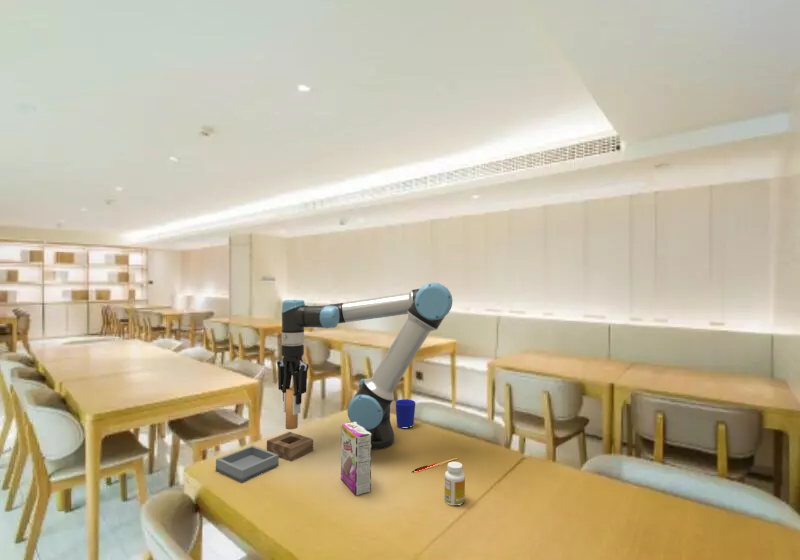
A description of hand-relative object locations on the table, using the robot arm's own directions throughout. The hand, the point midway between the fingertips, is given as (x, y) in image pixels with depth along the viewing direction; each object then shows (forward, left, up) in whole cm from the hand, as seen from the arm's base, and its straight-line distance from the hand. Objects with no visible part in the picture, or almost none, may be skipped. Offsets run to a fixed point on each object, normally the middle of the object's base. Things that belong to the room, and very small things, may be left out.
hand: (291, 412), depth 134 cm
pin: (0, 0, -5) cm, 5 cm away
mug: (-18, -46, -14) cm, 51 cm away
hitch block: (0, 0, -13) cm, 13 cm away
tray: (+1, +16, -13) cm, 21 cm away
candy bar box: (-33, +5, -14) cm, 36 cm away
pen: (-46, -20, -14) cm, 52 cm away
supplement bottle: (-60, -4, -14) cm, 61 cm away
